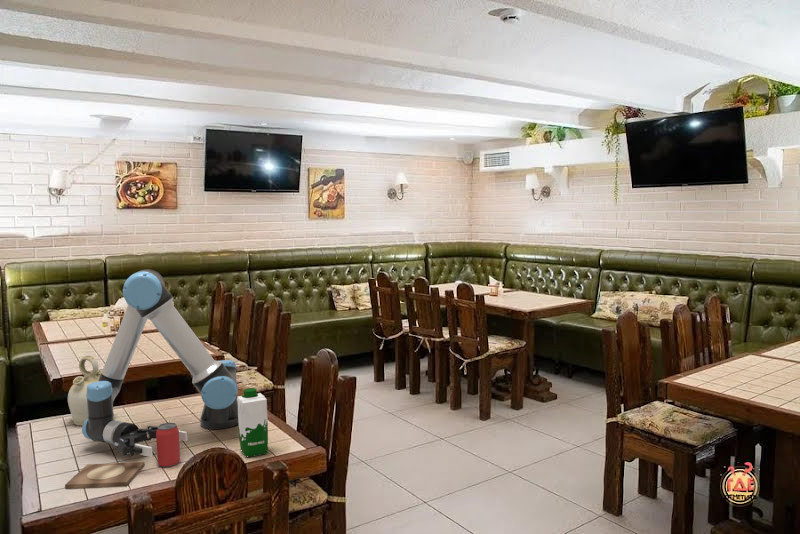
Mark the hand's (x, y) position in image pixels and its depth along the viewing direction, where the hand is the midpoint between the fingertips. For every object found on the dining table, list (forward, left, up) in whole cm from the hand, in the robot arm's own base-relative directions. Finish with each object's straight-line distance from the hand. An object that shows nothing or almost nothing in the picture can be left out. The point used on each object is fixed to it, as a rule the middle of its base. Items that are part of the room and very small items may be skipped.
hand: (169, 444), depth 184 cm
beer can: (+1, -1, -7) cm, 7 cm away
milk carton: (-24, -7, -7) cm, 26 cm away
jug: (+43, -45, -7) cm, 62 cm away
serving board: (+16, +7, -6) cm, 19 cm away
